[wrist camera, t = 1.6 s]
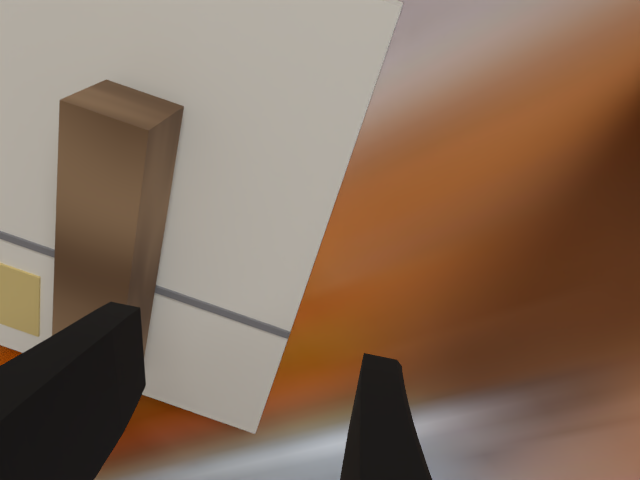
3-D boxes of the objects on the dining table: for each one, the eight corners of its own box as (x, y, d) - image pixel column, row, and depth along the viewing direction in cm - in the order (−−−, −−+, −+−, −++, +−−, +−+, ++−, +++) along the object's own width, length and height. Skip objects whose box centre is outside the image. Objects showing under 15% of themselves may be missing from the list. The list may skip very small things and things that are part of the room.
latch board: (262, 413, 25) (254, 435, 23) (-110, 283, 25) (-135, 299, 24) (403, 2, 15) (401, 7, 14) (-190, -201, 15) (-239, -212, 14)
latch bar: (140, 377, 22) (106, 430, 20) (84, 357, 22) (43, 408, 20) (184, 106, 16) (141, 135, 14) (105, 79, 16) (50, 103, 14)
